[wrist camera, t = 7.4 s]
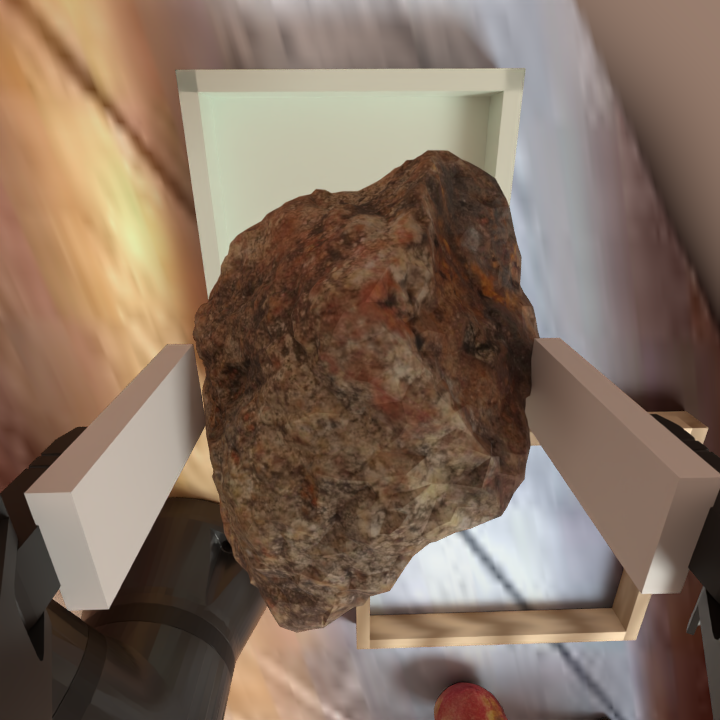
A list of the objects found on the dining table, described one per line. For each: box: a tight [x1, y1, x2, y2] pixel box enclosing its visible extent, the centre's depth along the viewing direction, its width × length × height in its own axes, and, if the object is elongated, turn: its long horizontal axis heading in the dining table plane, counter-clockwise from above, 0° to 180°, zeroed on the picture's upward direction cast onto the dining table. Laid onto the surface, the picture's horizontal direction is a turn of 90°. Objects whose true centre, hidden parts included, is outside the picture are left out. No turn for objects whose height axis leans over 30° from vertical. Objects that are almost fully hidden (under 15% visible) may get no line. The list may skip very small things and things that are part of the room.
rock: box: [193, 150, 540, 632], centre depth 14 cm, size 14×9×10 cm
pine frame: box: [356, 411, 708, 649], centre depth 40 cm, size 26×23×2 cm
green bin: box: [175, 68, 525, 299], centre depth 30 cm, size 18×21×4 cm
